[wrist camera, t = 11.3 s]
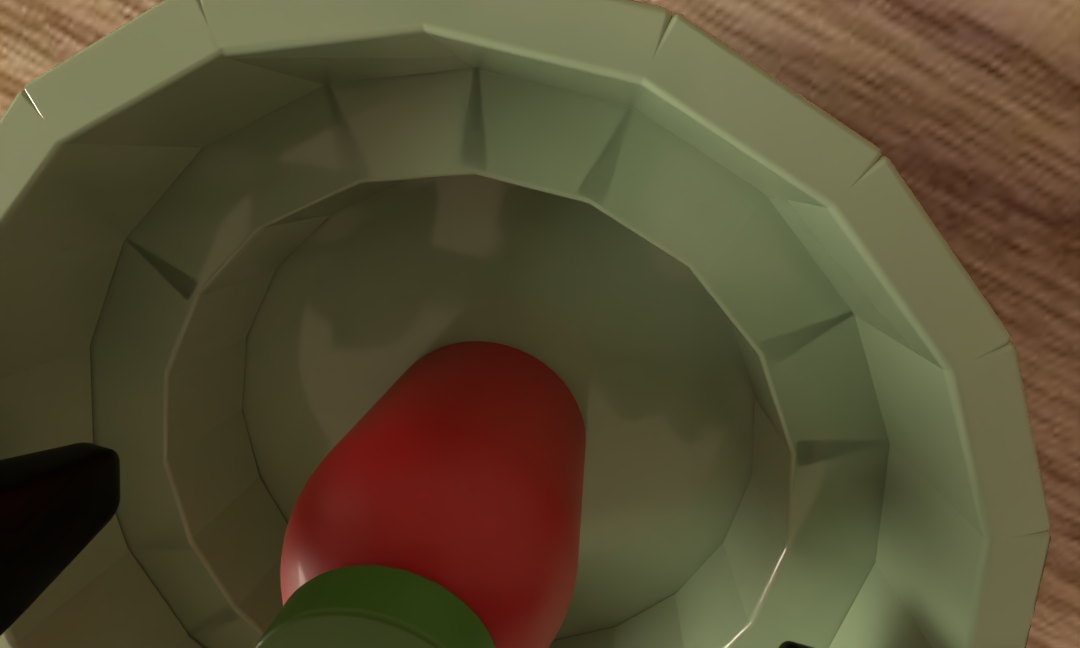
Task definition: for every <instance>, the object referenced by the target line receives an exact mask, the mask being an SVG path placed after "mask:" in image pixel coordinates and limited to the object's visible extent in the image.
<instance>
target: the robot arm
mask: <svg viewBox="0 0 1080 648" xmlns="http://www.w3.org/2000/svg"><path fill="white" fill-rule="evenodd" d="M119 503H120V459H119V456H118V454H117V452H116V451H114V450H113V449H110V448H107V447H103V446H99V445H96V444H92V443H86V442H81V443H75V444H71V445H66V446H62V447H57V448H52V449H48V450H43V451H39V452H34V453H29V454H25V455H20V456H16V457H11V458H7V459H2V460H0V636H1V635H2V634H3V633H4V632H5V631H6V630H7V629H8V628H9V627H10V626H11V625H12V624H13V623H14V622H15V621H16V620H17V619H18V618H19V617H20V616H21V615H22V614H23V613H24V612H25V611H26V610H27V609H28V608H29V607H30V606H31V605H32V604H33V603H34V601H35V600H36V599H37V598H38V597H39V596H40V595H41V594H42V593H43V592H44V591H45V590H46V589H47V588H48V586H49V585H50V584H51V583H52V582H53V581H54V580H55V579H56V578H57V577H58V576H59V575H60V574H61V573H62V572H63V570H64V569H65V568H66V567H67V566H68V565H69V564H70V563H71V562H72V561H73V560H74V559H75V558H76V557H77V556H78V554H79V553H80V552H81V551H82V550H83V549H84V548H85V547H86V546H87V545H88V544H89V543H90V542H91V541H92V540H93V538H94V537H95V536H96V535H97V534H98V533H99V532H100V531H101V530H102V529H103V528H104V527H105V526H106V525H107V523H108V522H109V521H110V520H111V519H112V518H113V516H114V515H115V513H116V511H117V509H118V507H119ZM779 648H814V647H810V646H807V645H803V644H800V643H796V642H793V641H785V642H783V643H782V644H780V646H779Z"/></svg>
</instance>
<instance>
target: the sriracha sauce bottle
mask: <svg viewBox="0 0 1080 648" xmlns="http://www.w3.org/2000/svg"><path fill="white" fill-rule="evenodd" d="M585 447H586V436H585V426H584V422H583V418H582V414H581V412H580V409H579V406H578V404H577V402H576V400H575V398H574V397H573V395H572V393H571V391H570V390H569V389H568V387H567V386H566V385H565V383H564V382H563V381H562V380H561V379H560V378H559V377H558V375H557V374H556V373H555V372H554V371H552V370H551V369H550V368H549V367H548V366H546V365H545V364H544V363H543V362H541V361H539V360H538V359H536V358H535V357H533V356H531V355H529V354H527V353H525V352H523V351H521V350H519V349H516V348H513V347H510V346H507V345H503V344H498V343H493V342H482V341H472V342H461V343H455V344H450V345H447V346H444V347H441V348H438V349H436V350H434V351H432V352H430V353H428V354H426V355H425V356H423V357H422V358H420V359H419V360H417V361H416V362H415V363H414V364H413V365H412V366H410V367H409V368H408V369H407V370H406V371H405V372H404V373H403V375H402V376H401V377H400V378H399V379H398V380H397V381H396V382H395V383H394V384H393V385H392V386H391V387H390V388H389V389H388V390H387V392H386V393H385V394H384V395H383V396H382V397H381V398H380V399H379V400H378V401H377V402H376V403H375V404H374V405H373V406H372V407H371V408H370V410H369V411H368V412H367V413H366V414H365V415H364V416H363V417H362V418H361V419H360V420H359V421H358V422H357V423H356V424H355V425H354V427H353V428H352V429H351V430H350V431H349V432H348V433H347V434H346V435H345V436H344V437H343V438H342V439H341V440H340V441H339V442H338V444H337V445H336V446H335V447H334V448H333V449H332V450H331V451H330V452H329V453H328V454H327V456H326V457H325V458H324V459H323V461H322V462H321V463H320V464H319V466H318V467H317V468H316V469H315V471H314V472H313V473H312V475H311V476H310V477H309V479H308V481H307V483H306V484H305V486H304V488H303V490H302V492H301V493H300V495H299V497H298V499H297V501H296V503H295V505H294V508H293V511H292V514H291V516H290V519H289V522H288V526H287V529H286V532H285V537H284V542H283V548H282V556H281V566H280V580H281V594H282V601H283V607H282V608H281V610H280V611H279V613H278V614H277V615H276V617H275V618H274V619H273V621H272V622H271V624H270V625H269V626H268V628H267V629H266V631H265V632H264V633H263V635H262V636H261V638H260V639H259V640H258V642H257V644H256V645H255V647H254V648H549V646H550V644H551V643H552V641H553V640H554V638H555V636H556V634H557V633H558V631H559V629H560V627H561V625H562V623H563V620H564V618H565V616H566V613H567V611H568V608H569V605H570V602H571V599H572V595H573V591H574V587H575V582H576V576H577V570H578V557H579V541H580V526H581V510H582V494H583V478H584V463H585Z"/></svg>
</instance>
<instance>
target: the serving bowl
mask: <svg viewBox="0 0 1080 648" xmlns="http://www.w3.org/2000/svg"><path fill="white" fill-rule="evenodd" d="M881 153H882V152H881V151H880V149H879V148H878V147H877V146H876V145H874V144H873V143H872V142H870V141H869V140H867V139H866V138H864V137H863V136H861V135H860V134H858V133H857V132H855V131H854V130H852V129H851V128H849V127H848V126H846V125H845V124H843V123H842V122H840V121H839V120H837V119H836V118H835V117H833V116H832V115H830V114H829V113H827V112H826V111H824V110H823V109H821V108H820V107H818V106H817V105H815V104H814V103H812V102H811V101H809V100H808V99H806V98H805V97H803V96H802V95H800V94H799V93H798V92H796V91H795V90H793V89H792V88H790V87H789V86H787V85H786V84H784V83H783V82H781V81H780V80H778V79H777V78H775V77H774V76H772V75H771V74H769V73H768V72H766V71H765V70H763V69H762V68H761V67H759V66H758V65H756V64H755V63H753V62H752V61H750V60H749V59H747V58H746V57H744V56H743V55H741V54H740V53H738V52H737V51H735V50H734V49H732V48H731V47H729V46H728V45H726V44H725V43H724V42H722V41H721V40H719V39H718V38H716V37H715V36H713V35H712V34H710V33H709V32H707V31H706V30H704V29H703V28H701V27H700V26H698V25H697V24H695V23H694V22H692V21H691V20H689V19H688V18H687V17H685V16H684V15H682V14H675V15H673V16H672V14H671V12H670V11H669V10H668V9H667V8H665V7H661V6H656V5H652V4H648V3H644V2H640V1H635V0H164V1H162V2H160V3H159V4H157V5H155V6H154V7H152V8H150V9H149V10H147V11H145V12H144V13H142V14H141V15H139V16H137V17H136V18H134V19H132V20H131V21H129V22H127V23H126V24H124V25H122V26H121V27H119V28H118V29H116V30H114V31H113V32H111V33H109V34H108V35H106V36H104V37H103V38H101V39H99V40H98V41H96V42H95V43H93V44H91V45H90V46H88V47H86V48H85V49H83V50H81V51H80V52H78V53H76V54H75V55H73V56H72V57H70V58H68V59H67V60H65V61H63V62H62V63H60V64H58V65H57V66H55V67H53V68H52V69H50V70H48V71H47V72H45V73H44V74H42V75H40V76H39V77H37V78H35V79H34V80H32V81H30V82H29V83H27V84H25V86H24V90H22V91H21V92H19V93H18V94H17V96H16V97H15V99H14V100H13V102H12V103H11V105H10V106H9V108H8V109H7V110H6V112H5V113H4V115H3V116H2V118H1V119H0V460H2V459H7V458H11V457H16V456H20V455H25V454H29V453H34V452H39V451H43V450H48V449H52V448H57V447H62V446H66V445H71V444H75V443H81V442H86V443H92V444H96V445H99V446H103V447H107V448H110V449H113V450H114V451H116V452H117V454H118V456H119V459H120V503H119V507H118V509H117V511H116V513H115V515H114V516H113V518H112V519H111V520H110V521H109V522H108V523H107V525H106V526H105V527H104V528H103V529H102V530H101V531H100V532H99V533H98V534H97V535H96V536H95V537H94V538H93V540H92V541H91V542H90V543H89V544H88V545H87V546H86V547H85V548H84V549H83V550H82V551H81V552H80V553H79V554H78V556H77V557H76V558H75V559H74V560H73V561H72V562H71V563H70V564H69V565H68V566H67V567H66V568H65V569H64V570H63V572H62V573H61V574H60V575H59V576H58V577H57V578H56V579H55V580H54V581H53V582H52V583H51V584H50V585H49V586H48V588H47V589H46V590H45V591H44V592H43V593H42V594H41V595H40V596H39V597H38V598H37V599H36V600H35V601H34V603H33V604H32V605H31V606H30V607H29V608H28V609H27V610H26V611H25V612H24V613H23V614H22V615H21V616H20V617H19V618H18V619H17V620H16V621H15V622H14V623H13V624H12V625H11V626H10V627H9V628H8V629H7V630H6V631H5V632H4V633H3V634H2V635H1V636H0V648H254V647H255V645H256V644H257V642H258V640H259V639H260V638H261V636H262V635H263V633H264V632H265V631H266V629H267V628H268V626H269V625H270V624H271V622H272V621H273V619H274V618H275V617H276V615H277V614H278V613H279V611H280V610H281V608H282V607H283V601H282V594H281V580H280V566H281V556H282V548H283V542H284V537H285V532H286V529H287V526H288V522H289V519H290V516H291V514H292V511H293V508H294V505H295V503H296V501H297V499H298V497H299V495H300V493H301V492H302V490H303V488H304V486H305V484H306V483H307V481H308V479H309V477H310V476H311V475H312V473H313V472H314V471H315V469H316V468H317V467H318V466H319V464H320V463H321V462H322V461H323V459H324V458H325V457H326V456H327V454H328V453H329V452H330V451H331V450H332V449H333V448H334V447H335V446H336V445H337V444H338V442H339V441H340V440H341V439H342V438H343V437H344V436H345V435H346V434H347V433H348V432H349V431H350V430H351V429H352V428H353V427H354V425H355V424H356V423H357V422H358V421H359V420H360V419H361V418H362V417H363V416H364V415H365V414H366V413H367V412H368V411H369V410H370V408H371V407H372V406H373V405H374V404H375V403H376V402H377V401H378V400H379V399H380V398H381V397H382V396H383V395H384V394H385V393H386V392H387V390H388V389H389V388H390V387H391V386H392V385H393V384H394V383H395V382H396V381H397V380H398V379H399V378H400V377H401V376H402V375H403V373H404V372H405V371H406V370H407V369H408V368H409V367H410V366H412V365H413V364H414V363H415V362H416V361H417V360H419V359H420V358H422V357H423V356H425V355H426V354H428V353H430V352H432V351H434V350H436V349H438V348H441V347H444V346H447V345H450V344H455V343H461V342H472V341H482V342H493V343H498V344H503V345H507V346H510V347H513V348H516V349H519V350H521V351H523V352H525V353H527V354H529V355H531V356H533V357H535V358H536V359H538V360H539V361H541V362H543V363H544V364H545V365H546V366H548V367H549V368H550V369H551V370H552V371H554V372H555V373H556V374H557V375H558V377H559V378H560V379H561V380H562V381H563V382H564V383H565V385H566V386H567V387H568V389H569V390H570V391H571V393H572V395H573V397H574V398H575V400H576V402H577V404H578V406H579V409H580V412H581V414H582V418H583V422H584V426H585V436H586V447H585V463H584V478H583V494H582V510H581V526H580V541H579V557H578V570H577V576H576V582H575V587H574V591H573V595H572V599H571V602H570V605H569V608H568V611H567V613H566V616H565V618H564V620H563V623H562V625H561V627H560V629H559V631H558V633H557V634H556V636H555V638H554V640H553V641H552V643H551V644H550V646H549V648H779V646H780V644H782V643H783V642H785V641H793V642H796V643H800V644H803V645H807V646H810V647H814V648H1026V644H1027V640H1028V635H1029V631H1030V627H1031V622H1032V618H1033V614H1034V609H1035V605H1036V601H1037V596H1038V592H1039V588H1040V583H1041V579H1042V575H1043V570H1044V566H1045V562H1046V557H1047V553H1048V549H1049V544H1050V540H1051V536H1050V533H1049V531H1048V530H1049V529H1050V528H1051V523H1050V518H1049V513H1048V508H1047V503H1046V498H1045V493H1044V487H1043V482H1042V477H1041V472H1040V467H1039V462H1038V457H1037V452H1036V447H1035V442H1034V437H1033V432H1032V427H1031V422H1030V417H1029V412H1028V407H1027V402H1026V397H1025V392H1024V387H1023V382H1022V377H1021V372H1020V367H1019V362H1018V357H1017V352H1016V348H1015V346H1014V345H1013V344H1012V343H1011V342H1010V340H1011V337H1010V334H1009V332H1008V331H1007V329H1006V328H1005V326H1004V325H1003V324H1002V322H1001V321H1000V319H999V318H998V316H997V315H996V313H995V312H994V310H993V309H992V308H991V306H990V305H989V303H988V302H987V300H986V299H985V297H984V296H983V294H982V293H981V291H980V290H979V289H978V287H977V286H976V284H975V283H974V281H973V280H972V278H971V277H970V275H969V274H968V273H967V271H966V270H965V268H964V267H963V265H962V264H961V262H960V261H959V259H958V258H957V257H956V255H955V254H954V252H953V251H952V249H951V248H950V246H949V245H948V243H947V242H946V241H945V239H944V238H943V236H942V235H941V233H940V232H939V230H938V229H937V227H936V226H935V224H934V223H933V222H932V220H931V219H930V217H929V216H928V214H927V213H926V211H925V210H924V208H923V207H922V206H921V204H920V203H919V201H918V200H917V198H916V197H915V195H914V194H913V192H912V191H911V190H910V188H909V187H908V185H907V184H906V182H905V181H904V179H903V178H902V176H901V175H900V174H899V172H898V171H897V169H896V168H895V166H894V165H893V163H892V162H891V160H890V159H889V158H887V157H885V156H884V155H881Z"/></svg>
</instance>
